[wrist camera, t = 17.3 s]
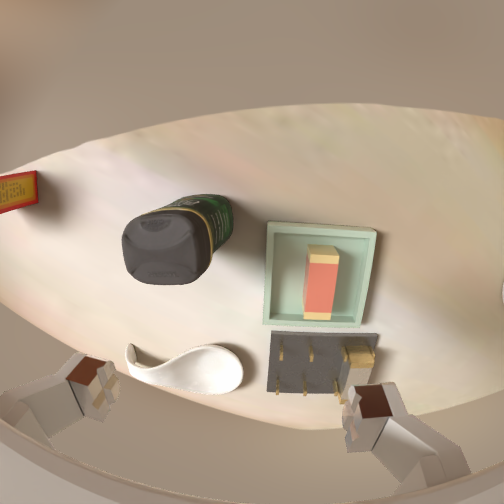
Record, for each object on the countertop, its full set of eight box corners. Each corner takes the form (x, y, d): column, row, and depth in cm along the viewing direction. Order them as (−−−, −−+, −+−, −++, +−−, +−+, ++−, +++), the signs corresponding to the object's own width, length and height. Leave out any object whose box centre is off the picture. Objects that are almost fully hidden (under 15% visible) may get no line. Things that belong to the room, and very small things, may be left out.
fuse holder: (376, 333, 49) (385, 352, 43) (359, 389, 53) (365, 409, 48) (271, 330, 51) (270, 351, 45) (266, 388, 55) (265, 409, 49)
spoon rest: (243, 336, 52) (238, 360, 45) (247, 383, 55) (243, 409, 48) (125, 328, 54) (108, 348, 47) (138, 373, 57) (125, 394, 51)
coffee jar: (231, 190, 44) (199, 211, 26) (235, 241, 46) (209, 293, 29) (170, 195, 45) (108, 219, 27) (176, 244, 47) (123, 292, 30)
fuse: (333, 245, 44) (339, 255, 40) (325, 304, 47) (330, 320, 43) (307, 243, 45) (310, 254, 40) (301, 303, 48) (303, 319, 43)
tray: (370, 227, 44) (376, 232, 41) (356, 318, 49) (359, 327, 46) (268, 220, 45) (267, 225, 42) (263, 315, 50) (262, 324, 47)
